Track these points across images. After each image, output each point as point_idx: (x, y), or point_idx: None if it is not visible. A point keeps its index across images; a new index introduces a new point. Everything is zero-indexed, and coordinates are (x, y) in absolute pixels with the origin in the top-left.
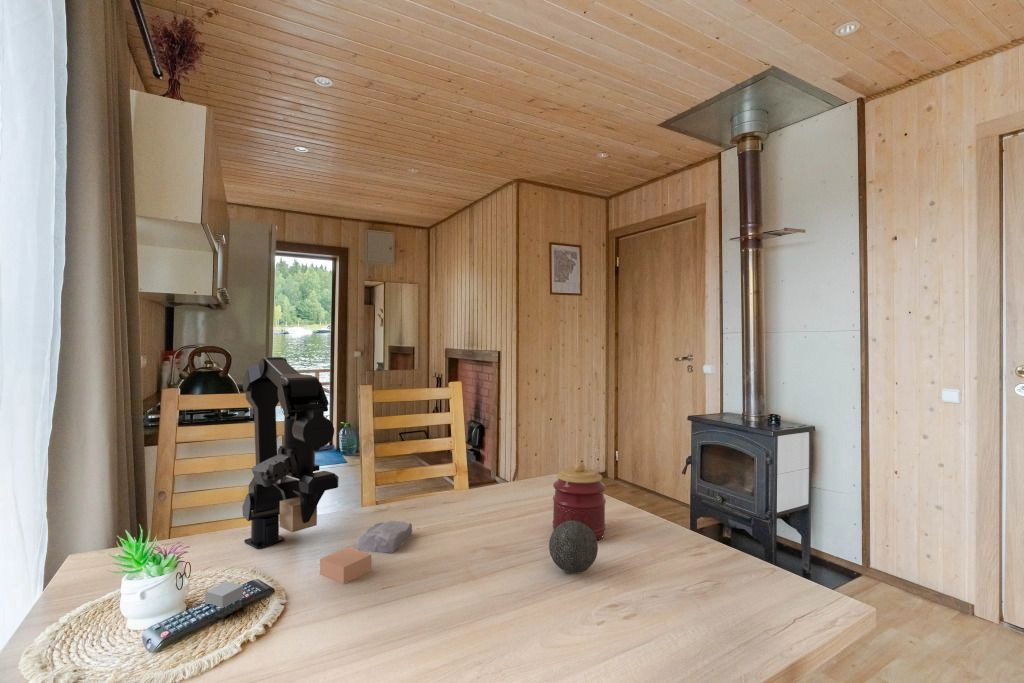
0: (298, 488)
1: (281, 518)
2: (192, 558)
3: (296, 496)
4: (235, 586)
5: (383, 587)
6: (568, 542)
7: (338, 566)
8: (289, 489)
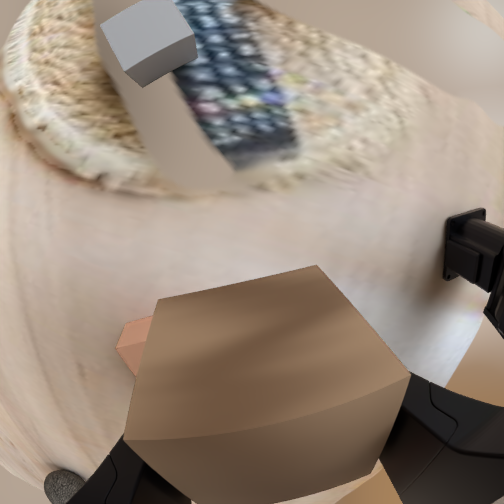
0: (410, 493)
1: (312, 298)
2: (473, 103)
3: (387, 453)
4: (133, 52)
5: (82, 366)
6: (47, 491)
7: (132, 342)
8: (438, 476)
